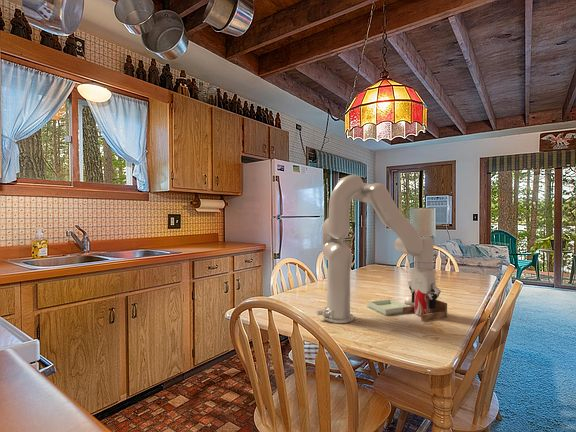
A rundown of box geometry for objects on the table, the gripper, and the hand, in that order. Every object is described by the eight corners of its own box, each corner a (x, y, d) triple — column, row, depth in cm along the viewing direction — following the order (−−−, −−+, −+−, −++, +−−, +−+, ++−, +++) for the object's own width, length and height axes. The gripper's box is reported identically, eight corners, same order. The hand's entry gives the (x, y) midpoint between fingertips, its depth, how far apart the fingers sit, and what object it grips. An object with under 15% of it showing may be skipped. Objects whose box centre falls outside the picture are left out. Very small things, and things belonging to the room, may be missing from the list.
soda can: (421, 318, 137) (421, 290, 137) (410, 313, 144) (411, 286, 144) (435, 317, 139) (436, 288, 139) (424, 312, 146) (424, 285, 146)
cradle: (422, 321, 134) (423, 306, 134) (402, 312, 145) (402, 299, 145) (447, 317, 139) (447, 303, 139) (425, 309, 150) (425, 296, 150)
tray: (385, 315, 141) (385, 309, 141) (367, 307, 153) (367, 301, 153) (409, 312, 146) (409, 306, 146) (389, 304, 158) (389, 298, 158)
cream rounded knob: (411, 307, 154) (411, 299, 154) (401, 302, 160) (401, 295, 160) (423, 305, 157) (423, 298, 157) (412, 301, 163) (412, 294, 163)
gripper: (402, 263, 148) (402, 300, 148) (432, 269, 132) (432, 312, 132) (415, 262, 151) (415, 299, 151) (446, 268, 135) (446, 310, 135)
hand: (423, 305), depth 142 cm, fingers open, 9 cm apart
